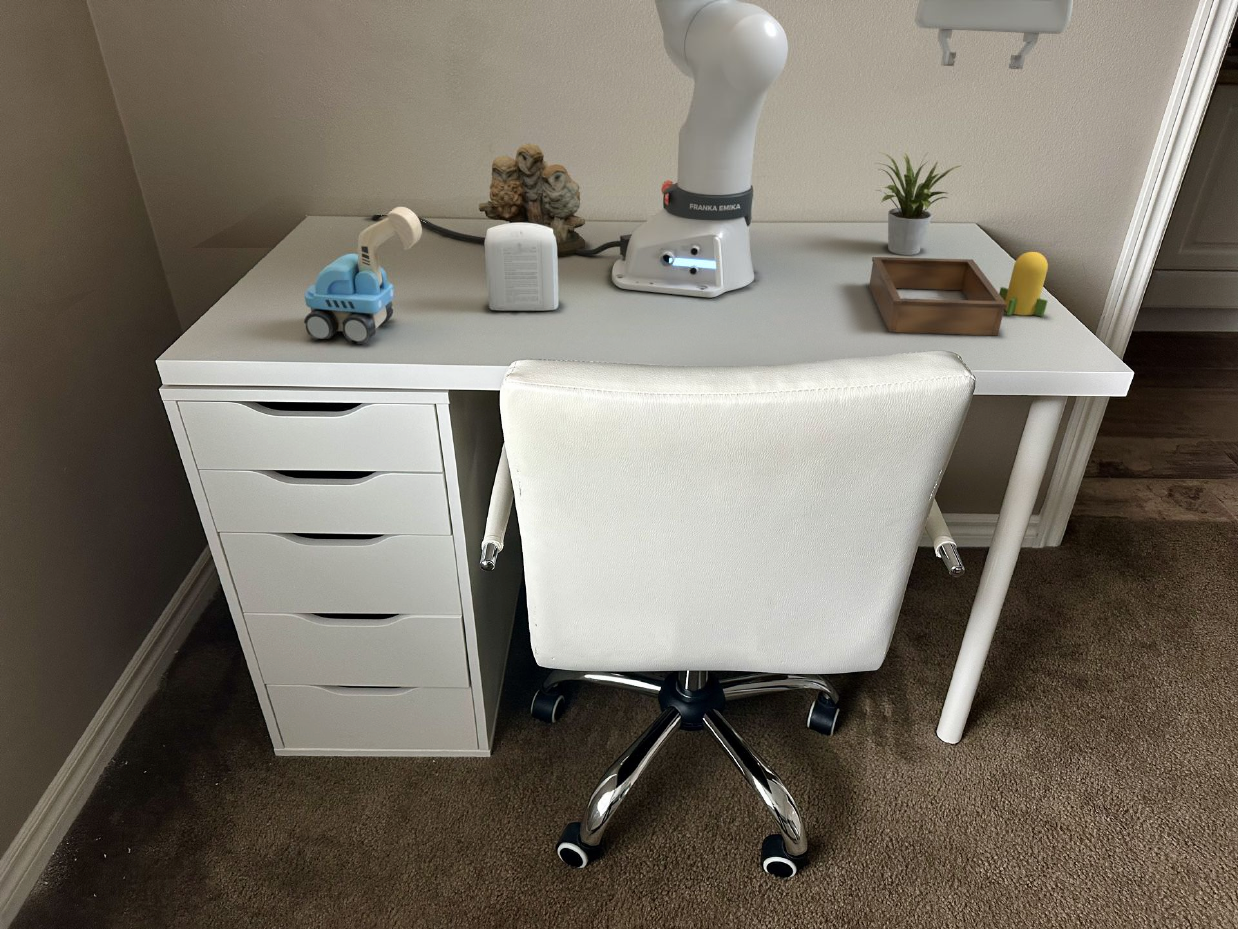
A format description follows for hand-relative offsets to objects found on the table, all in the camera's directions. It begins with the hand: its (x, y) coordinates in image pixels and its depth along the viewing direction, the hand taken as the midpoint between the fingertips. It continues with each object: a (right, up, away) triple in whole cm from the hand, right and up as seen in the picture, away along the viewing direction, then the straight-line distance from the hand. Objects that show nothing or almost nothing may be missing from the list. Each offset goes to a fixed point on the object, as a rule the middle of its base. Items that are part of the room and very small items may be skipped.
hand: (981, 67), depth 124 cm
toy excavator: (-85, -38, -3) cm, 94 cm away
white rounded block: (-65, -33, +4) cm, 74 cm away
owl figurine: (-66, -19, +27) cm, 74 cm away
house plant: (-4, -19, +26) cm, 33 cm away
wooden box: (-6, -34, +3) cm, 34 cm away
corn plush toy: (+7, -34, +3) cm, 35 cm away
